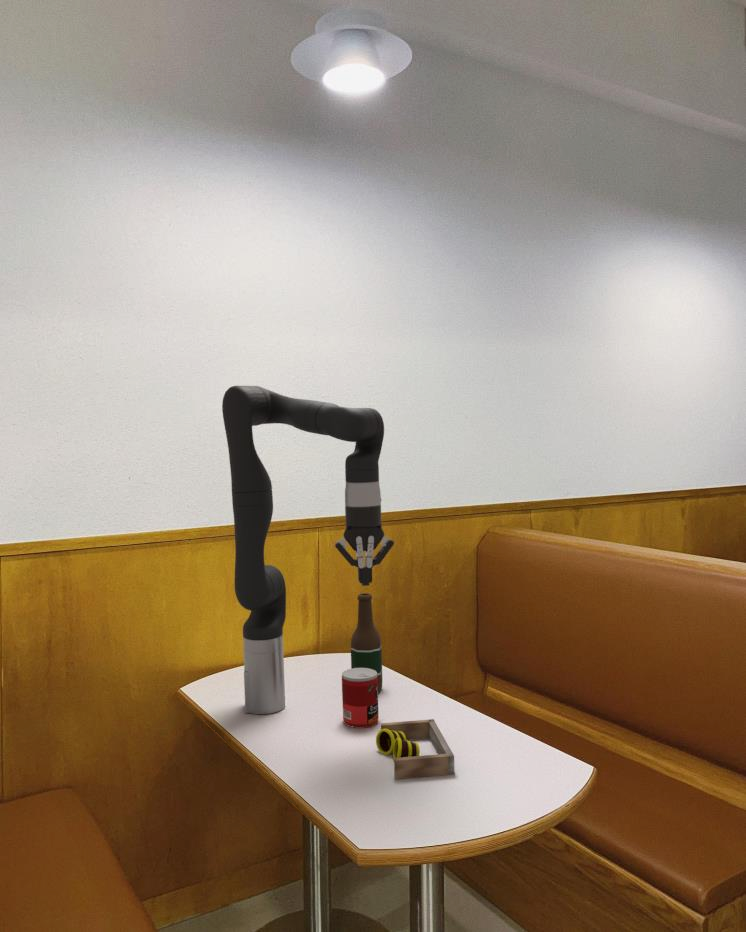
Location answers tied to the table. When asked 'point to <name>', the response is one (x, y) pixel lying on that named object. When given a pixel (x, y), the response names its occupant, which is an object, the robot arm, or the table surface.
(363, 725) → the canned food
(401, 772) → the walnut bay
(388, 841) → the table surface
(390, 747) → the opera glasses
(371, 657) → the beer bottle
